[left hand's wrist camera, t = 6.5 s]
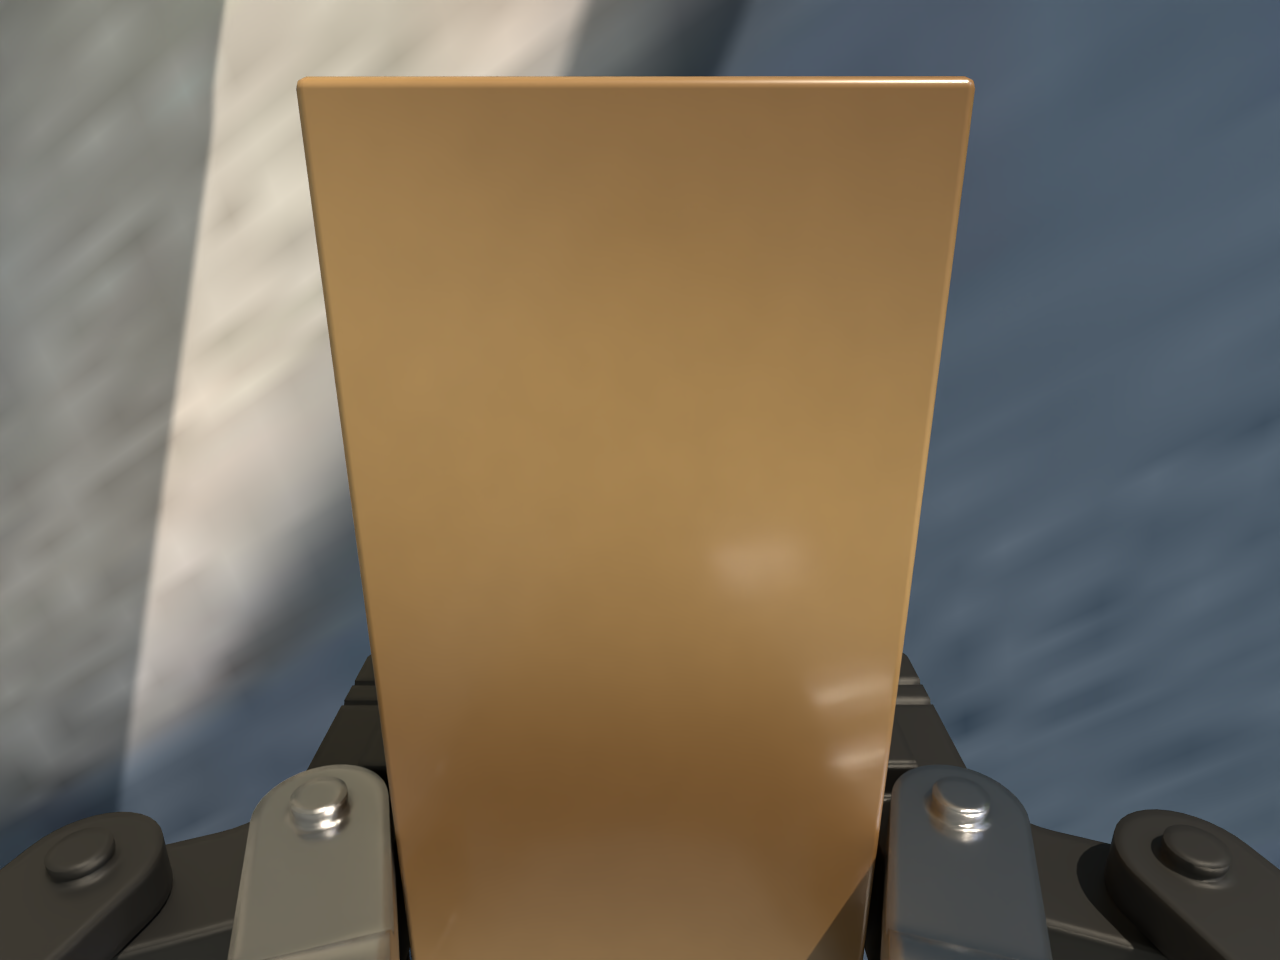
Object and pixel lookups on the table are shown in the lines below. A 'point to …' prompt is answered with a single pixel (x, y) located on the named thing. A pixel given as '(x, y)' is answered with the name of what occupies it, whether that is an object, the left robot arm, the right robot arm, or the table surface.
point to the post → (636, 488)
